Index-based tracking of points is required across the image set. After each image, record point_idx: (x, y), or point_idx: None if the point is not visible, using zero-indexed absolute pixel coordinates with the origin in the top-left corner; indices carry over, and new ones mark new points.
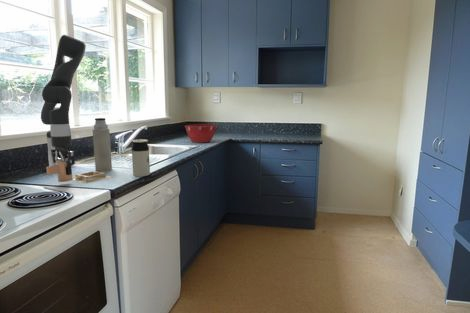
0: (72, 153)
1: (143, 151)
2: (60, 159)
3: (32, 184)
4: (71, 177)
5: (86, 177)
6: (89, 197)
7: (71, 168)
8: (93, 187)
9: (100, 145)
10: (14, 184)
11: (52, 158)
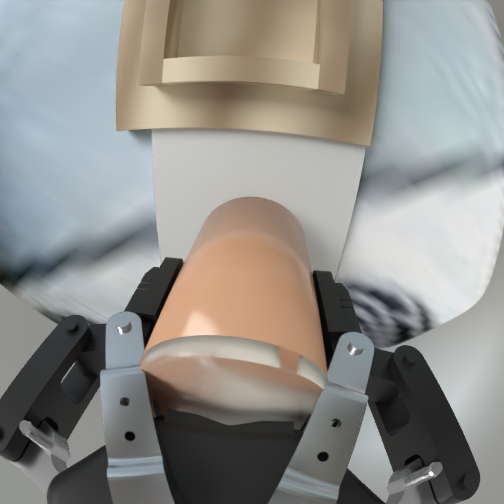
0: (455, 477)
1: None
2: (164, 402)
3: (59, 265)
4: (304, 241)
5: (321, 90)
6: (478, 285)
7: (302, 277)
8: (425, 156)
9: None
10: (31, 289)
11: (67, 390)
